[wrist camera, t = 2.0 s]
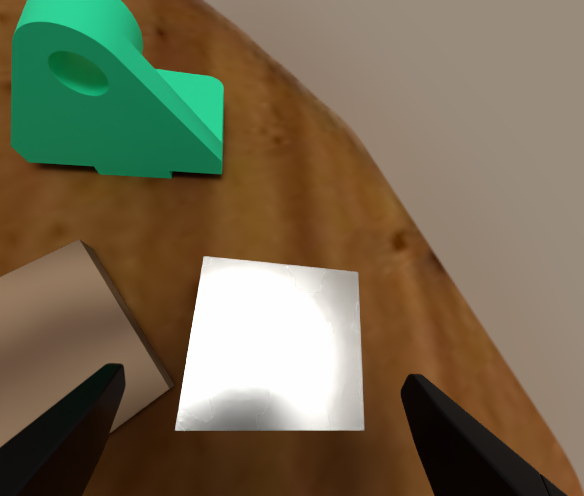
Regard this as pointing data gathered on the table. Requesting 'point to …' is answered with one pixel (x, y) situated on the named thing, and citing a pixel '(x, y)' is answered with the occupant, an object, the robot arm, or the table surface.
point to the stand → (68, 338)
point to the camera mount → (107, 96)
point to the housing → (273, 350)
